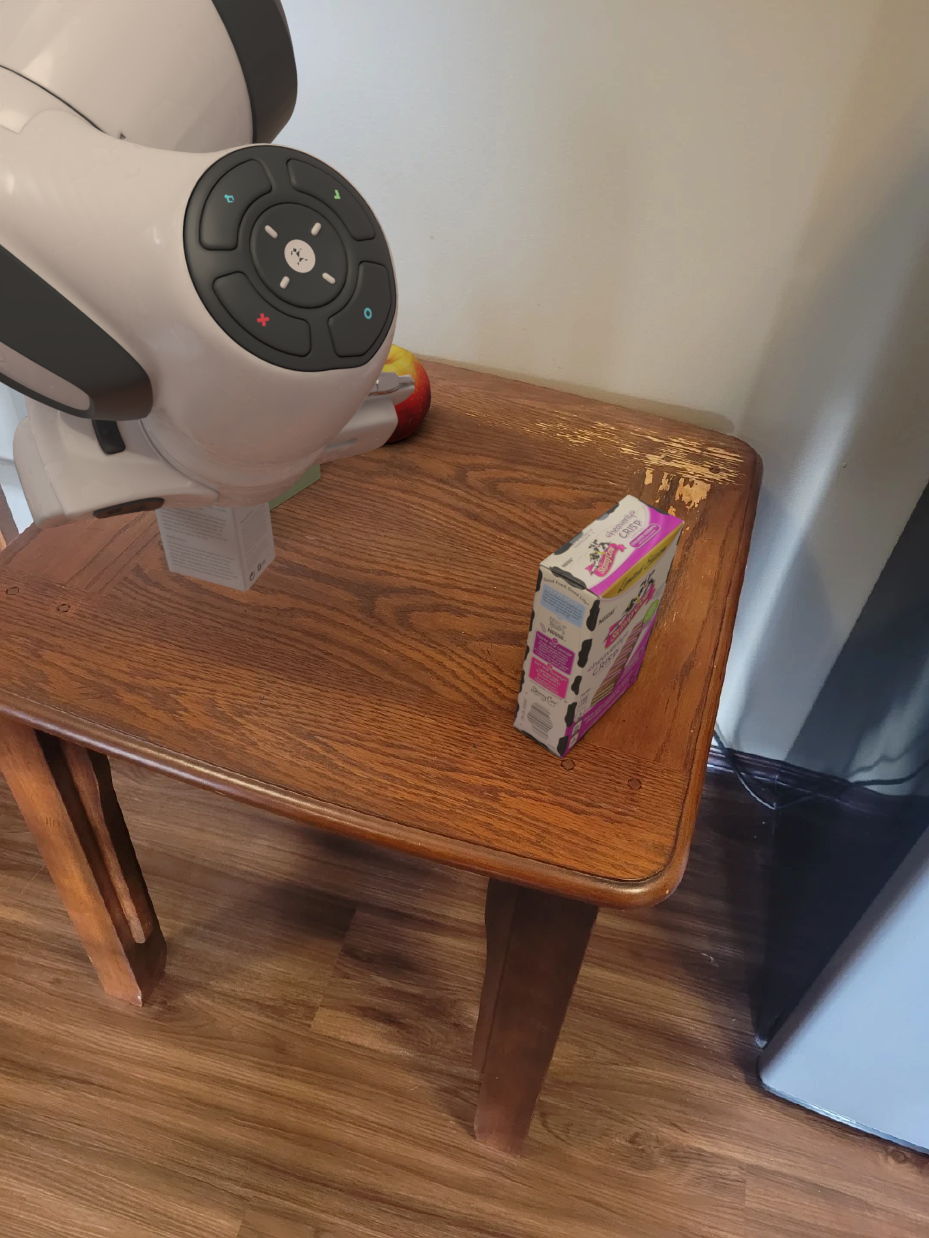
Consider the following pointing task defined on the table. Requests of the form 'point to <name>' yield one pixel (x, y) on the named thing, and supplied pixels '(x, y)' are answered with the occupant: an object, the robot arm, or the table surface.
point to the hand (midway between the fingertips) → (204, 478)
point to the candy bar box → (593, 621)
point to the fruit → (419, 401)
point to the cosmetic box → (218, 543)
